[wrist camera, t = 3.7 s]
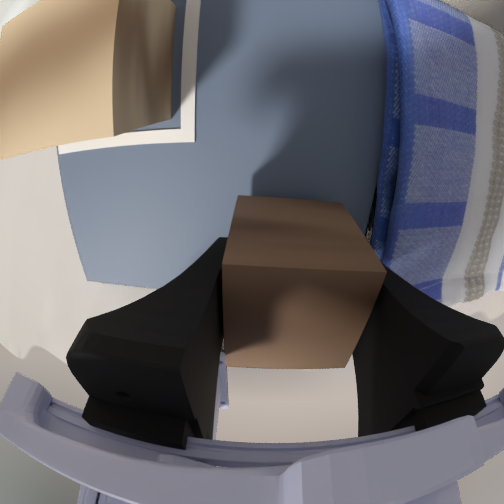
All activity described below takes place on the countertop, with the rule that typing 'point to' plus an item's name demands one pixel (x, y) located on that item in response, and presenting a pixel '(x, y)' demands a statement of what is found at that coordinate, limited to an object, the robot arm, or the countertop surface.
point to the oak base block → (84, 71)
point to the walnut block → (295, 284)
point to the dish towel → (441, 152)
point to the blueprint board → (234, 134)
